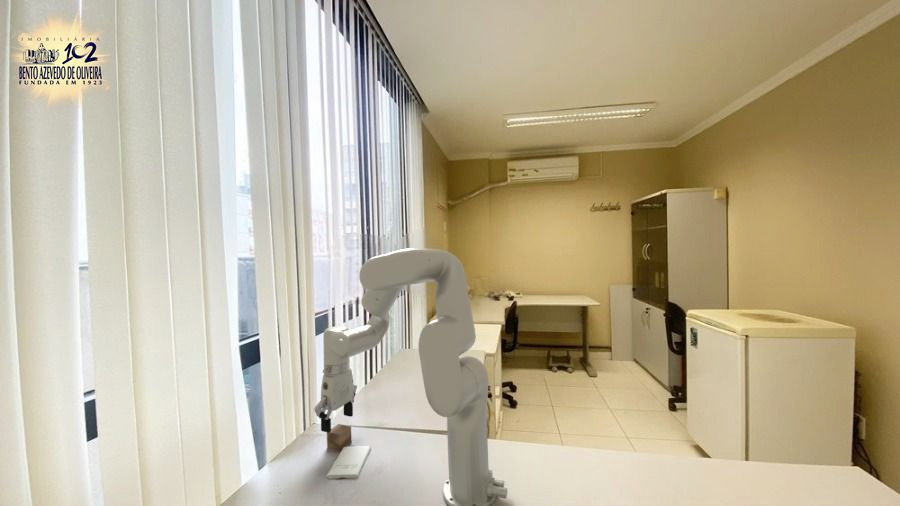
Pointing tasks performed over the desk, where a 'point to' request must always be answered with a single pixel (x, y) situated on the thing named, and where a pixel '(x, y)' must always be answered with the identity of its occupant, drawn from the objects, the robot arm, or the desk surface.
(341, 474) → the external hard drive
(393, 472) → the desk surface
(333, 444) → the walnut block
